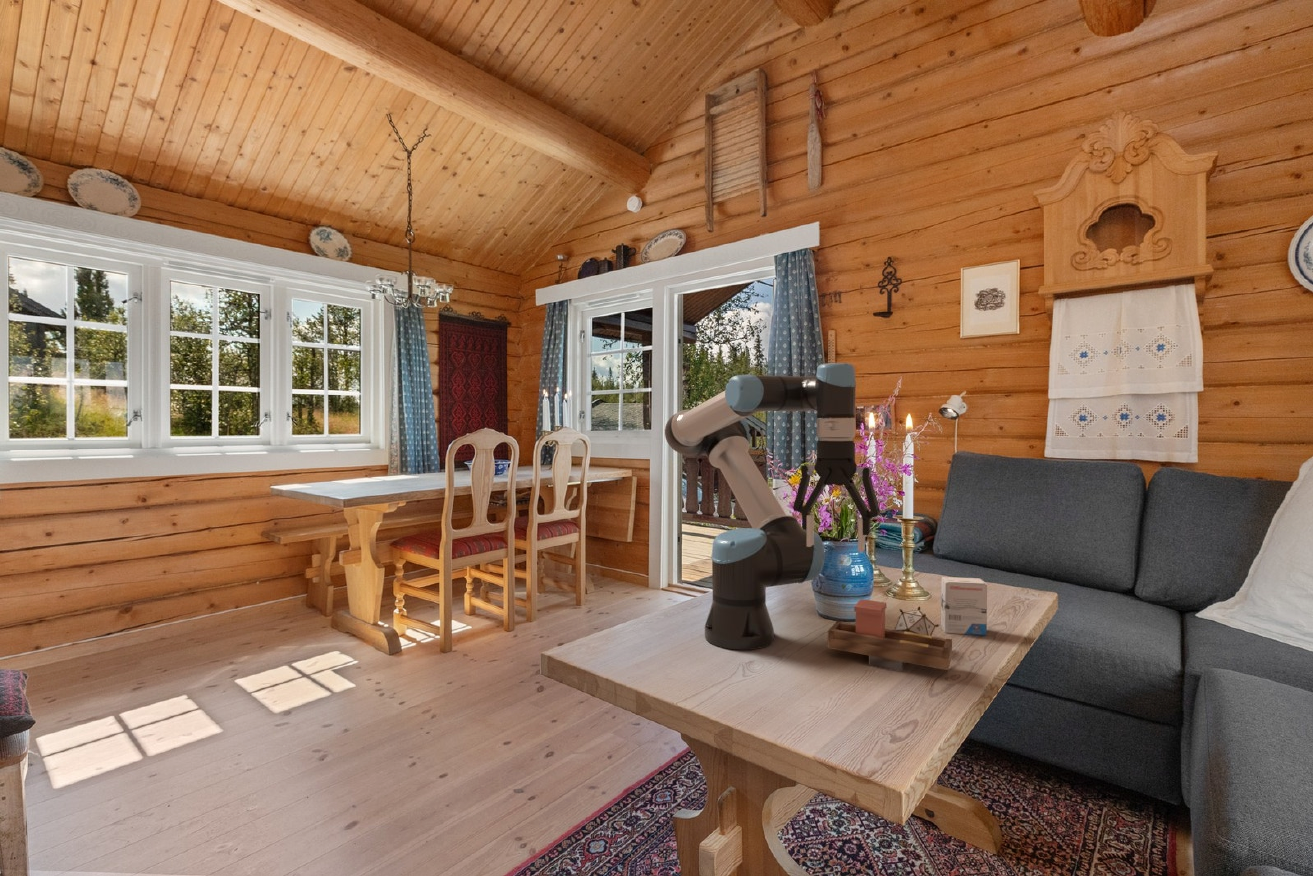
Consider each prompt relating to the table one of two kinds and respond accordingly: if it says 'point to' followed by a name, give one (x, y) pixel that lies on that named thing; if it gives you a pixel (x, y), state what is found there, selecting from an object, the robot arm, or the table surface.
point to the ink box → (964, 606)
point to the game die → (915, 623)
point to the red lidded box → (870, 617)
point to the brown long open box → (892, 647)
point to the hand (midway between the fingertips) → (835, 548)
